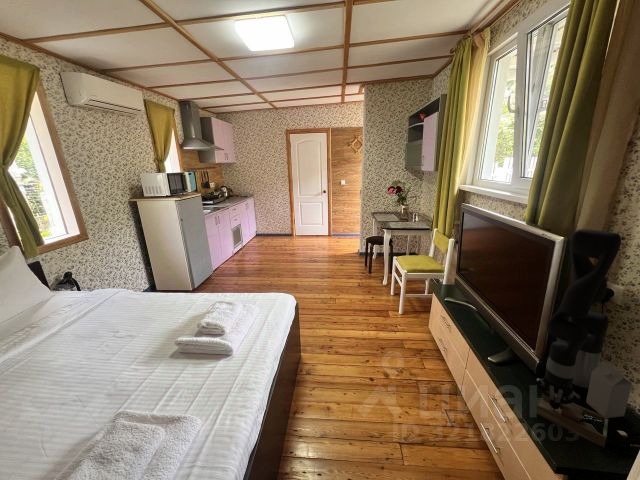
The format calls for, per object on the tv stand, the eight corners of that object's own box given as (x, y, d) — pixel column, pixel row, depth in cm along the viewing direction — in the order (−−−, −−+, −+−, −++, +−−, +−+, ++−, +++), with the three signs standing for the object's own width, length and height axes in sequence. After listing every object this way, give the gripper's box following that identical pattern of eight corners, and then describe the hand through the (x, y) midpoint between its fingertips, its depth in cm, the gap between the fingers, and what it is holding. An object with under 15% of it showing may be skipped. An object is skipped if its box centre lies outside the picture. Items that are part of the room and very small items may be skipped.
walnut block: (562, 409, 100) (564, 401, 99) (581, 418, 96) (582, 409, 95) (560, 418, 97) (561, 409, 96) (578, 427, 93) (580, 418, 92)
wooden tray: (542, 397, 107) (543, 390, 106) (606, 427, 94) (608, 418, 93) (536, 413, 101) (537, 405, 100) (604, 447, 87) (606, 438, 86)
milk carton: (603, 400, 103) (612, 360, 98) (624, 416, 96) (634, 374, 92) (585, 402, 103) (593, 362, 98) (605, 418, 96) (614, 376, 92)
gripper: (587, 373, 93) (579, 412, 97) (539, 356, 103) (534, 391, 107) (583, 385, 88) (576, 425, 93) (534, 366, 98) (529, 402, 103)
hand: (553, 407), depth 100 cm, fingers closed
